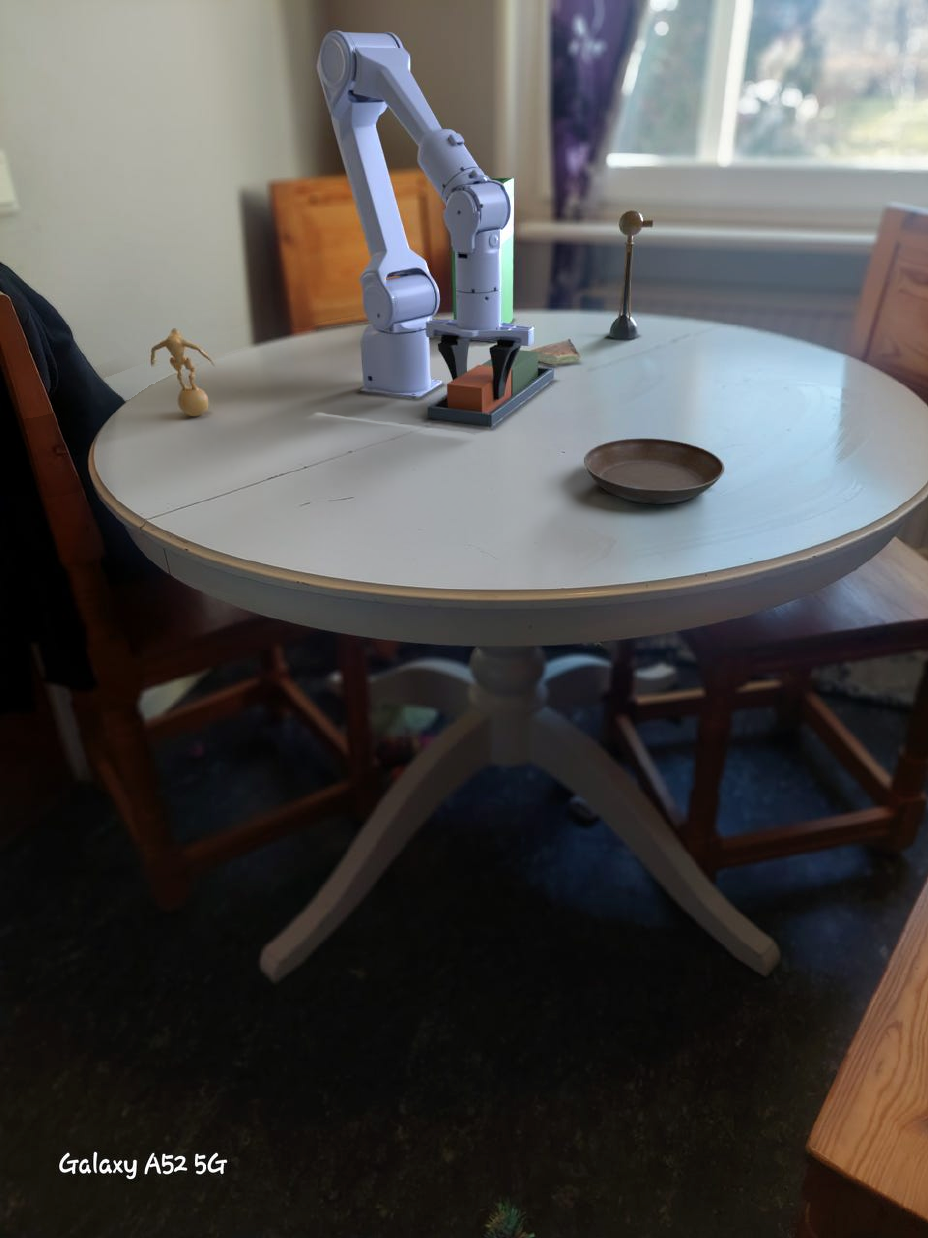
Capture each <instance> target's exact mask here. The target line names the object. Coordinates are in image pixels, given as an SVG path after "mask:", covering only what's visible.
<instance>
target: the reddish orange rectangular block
mask: <svg viewBox="0 0 928 1238" xmlns="http://www.w3.org/2000/svg"><path fill="white" fill-rule="evenodd" d="M446 395H447V402H448V408H451V409H459V410H467V411H475V412H483V413H490V412H491V411H493V410H494V409H495V408H497V407H498V406H499V405H501V404H502V403H503V402H505V401H506V400H508V399H509V398H510V397H511V370H510V373H509V376H508V379H507V383H506V388H505V394H504V396H503V397H502V398H500V399H499V400H497V399H494V393H493V368H492V366H485V365H482V364H477V365H476V366H474V367H473V368H470V369H469V370H467V372H466V373H464V374H463V375H461V376H459V377H458V378H456V379H455V380H451V381H449V382H448V383H446Z"/></svg>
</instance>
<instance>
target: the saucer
mask: <svg viewBox="0 0 928 1238" xmlns="http://www.w3.org/2000/svg"><path fill="white" fill-rule="evenodd" d="M583 464H584V467H585V468H586V470H587V472H588V473H589V475H590V476H591V477H592V479H593V480H594V481H595V482H596V483H597V484H598V485H599V486H601V487H602V488H603V489H604V490H606V491H607V492H608V493H610V494H611V495H613V496H615V497H618V498H621V499H623V500H626V501H631V502H635V503H641V504H651V505H653V504H654V505H666V504H675V503H680V502H685V501H689V500H691V499H694V498H696V497H698V496H700V495H702V493H704V492H706V491H707V490H709V489H710V488H711V487H713V486H714V485H715V484H716V482H718V481H719V480H720V478H721V477H722V476H723V474H724V473H725V470H726V469H725V464H724V462H723V461H722V459H720V458H719V457H718V456H717V455H715V454H714V453H713V452H711V451H709V450H707V449H705V448H702V447H699V446H697V445H694V444H690V443H687V442H682V441H677V440H670V439H664V438H650V437H649V438H648V437H647V438H646V437H644V438H642V437H641V438H640V437H639V438H625V439H617V440H613V441H612V440H611V441H608V442H605V443H602V444H599V445H597V446H595V447H593V448H591V449H590V450H589V451H587V452H586V453H585V455H584V458H583Z"/></svg>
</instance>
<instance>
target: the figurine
mask: <svg viewBox="0 0 928 1238" xmlns="http://www.w3.org/2000/svg"><path fill="white" fill-rule="evenodd" d="M163 348H166V349H167V350H168V352H169V354H170V355H171V356H172V357H170V358H169V362H170V365H171V367H173V369H174V371H176V372H177V374H176V379H177V380H178V383H179V385H180V388H181V390H180V391H179V394H178V396H177V404H178V408H179V409H180V410H181V412H183V413H184V414H185V415H187V416H190V417H199V416H201V415H203V414H204V413H206V411H207V410H208V407H209V402H210V401H209V397H208V394H207V393H206V391H204V389H202V388H201V387H198V385H197V384H195V383H194V379H195V372H196V371H195V370H196V367H195V366H194V364H193V363H192V359H191V358H190V357H189V356H187V357H186V358H185V350H186V348H188V349H191V350H195V351H198V353H199V354H200V355H202V356H203V358H205V359H207V360H208V361H209V362H210V363H211V365H212V366H213V367H214V366H215V364H214V362H213V360H212V358H211V357H210V356H209V355H208V354H207V353H206V352H205V351H203V349H202V348H201V347H199V346H198V345H196V344H194V343H192V342H190V341H187V340H185V339H183V338H182V337H181V335H180V331H179V330H178V329H177V328H172V329H171V331H170V334H169V335H168V336H167V338H165V339H163V340H162V341H160V342H159V343H157V344H156V345H155V344H154V346H152V348H151V349H150V352H151V354H150V366H151V367H154V366H156V363H155V362H157V361H156V360H155V358H156V351H158V350H160V349H163ZM183 366H184V368H185V370H187V371H189V372H190V373H189V375H188V379H189V384H190V385H189V386H188V385H186V384H185V383H184V381H183V374H182V368H183Z"/></svg>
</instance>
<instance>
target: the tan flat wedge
mask: <svg viewBox="0 0 928 1238" xmlns="http://www.w3.org/2000/svg"><path fill="white" fill-rule="evenodd" d="M530 351H534V352H538V362H541V363H544V364H549V365H554V366H555V365H557V364H567V363H576V362H577V363H578V362H579V360H580V358H581V357H580V354H579V352H578V351H577V348H576V345H575V344H574V343H573V342H572V340H571V338H568V339H567V340H562V341H559V342H554V343H549V344H547V345H543V346H540V347H536V348H535V349H530Z"/></svg>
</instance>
